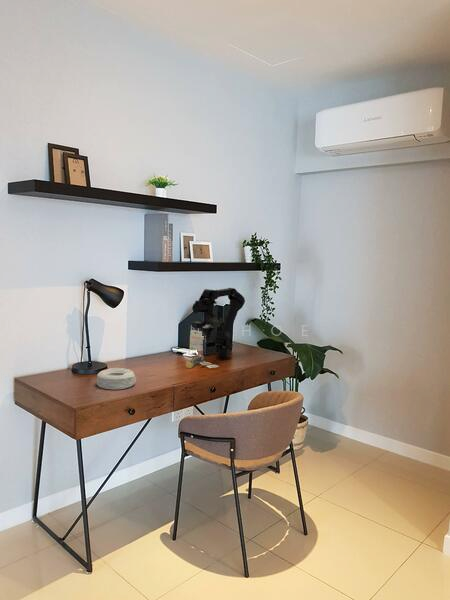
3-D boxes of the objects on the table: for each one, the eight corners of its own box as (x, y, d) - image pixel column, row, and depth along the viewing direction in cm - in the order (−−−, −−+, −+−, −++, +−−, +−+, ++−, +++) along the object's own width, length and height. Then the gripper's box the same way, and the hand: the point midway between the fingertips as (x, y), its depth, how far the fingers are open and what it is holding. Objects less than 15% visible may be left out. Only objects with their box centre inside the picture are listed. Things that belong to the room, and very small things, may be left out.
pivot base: (201, 360, 275) (201, 359, 275) (207, 362, 270) (207, 361, 270) (192, 361, 272) (192, 360, 272) (198, 363, 267) (198, 363, 267)
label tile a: (207, 362, 270) (207, 361, 270) (211, 364, 267) (211, 363, 267) (198, 363, 267) (198, 362, 267) (202, 365, 264) (202, 364, 264)
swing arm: (198, 360, 273) (198, 354, 273) (204, 360, 272) (204, 354, 272) (185, 367, 256) (185, 360, 256) (191, 368, 255) (191, 361, 254)
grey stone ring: (121, 377, 233) (121, 365, 233) (143, 386, 221) (143, 373, 221) (89, 384, 221) (89, 371, 220) (110, 393, 209) (111, 379, 208)
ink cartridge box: (205, 354, 290) (206, 330, 288) (201, 355, 286) (202, 331, 284) (193, 352, 294) (194, 328, 292) (189, 353, 290) (189, 329, 288)
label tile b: (214, 365, 265) (214, 364, 265) (218, 366, 262) (219, 366, 262) (205, 366, 261) (205, 365, 261) (209, 368, 258) (209, 367, 258)
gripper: (202, 314, 256) (201, 343, 258) (230, 313, 267) (229, 340, 269) (191, 311, 265) (190, 339, 267) (219, 310, 276) (217, 337, 278)
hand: (207, 339), depth 270 cm, fingers closed
